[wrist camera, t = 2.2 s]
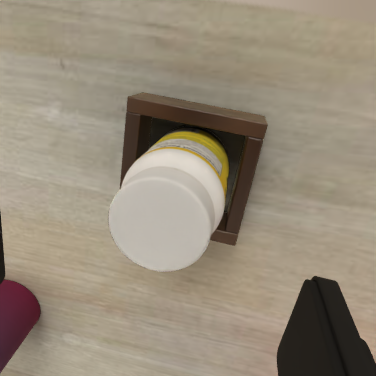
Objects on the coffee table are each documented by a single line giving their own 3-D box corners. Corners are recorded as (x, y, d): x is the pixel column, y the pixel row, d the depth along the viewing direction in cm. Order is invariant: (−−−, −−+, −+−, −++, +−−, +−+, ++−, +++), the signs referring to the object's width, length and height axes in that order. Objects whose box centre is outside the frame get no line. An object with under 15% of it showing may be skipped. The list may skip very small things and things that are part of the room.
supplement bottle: (199, 211, 20) (172, 301, 13) (140, 169, 20) (75, 235, 12) (247, 155, 19) (248, 221, 11) (182, 107, 18) (136, 140, 10)
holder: (130, 201, 21) (116, 218, 19) (142, 91, 18) (127, 96, 16) (236, 225, 20) (235, 246, 18) (265, 115, 18) (268, 123, 15)
